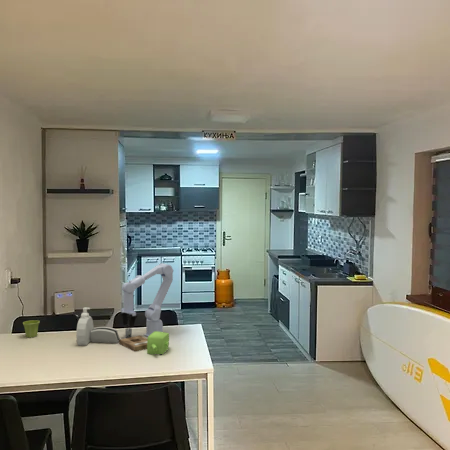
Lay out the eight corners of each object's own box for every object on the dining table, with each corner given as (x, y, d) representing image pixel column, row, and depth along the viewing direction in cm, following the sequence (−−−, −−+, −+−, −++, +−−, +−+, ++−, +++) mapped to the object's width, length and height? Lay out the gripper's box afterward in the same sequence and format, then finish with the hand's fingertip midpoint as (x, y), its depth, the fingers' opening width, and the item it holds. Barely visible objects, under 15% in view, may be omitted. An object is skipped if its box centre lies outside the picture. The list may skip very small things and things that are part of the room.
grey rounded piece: (121, 340, 254) (118, 325, 250) (118, 345, 250) (115, 330, 246) (94, 339, 256) (91, 324, 253) (90, 344, 252) (87, 329, 248)
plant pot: (22, 335, 264) (22, 321, 264) (39, 333, 268) (39, 319, 268) (22, 339, 256) (22, 324, 256) (40, 337, 260) (40, 323, 260)
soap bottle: (85, 346, 242) (85, 311, 242) (76, 346, 242) (75, 311, 241) (94, 338, 258) (94, 304, 258) (85, 338, 258) (85, 304, 258)
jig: (139, 339, 256) (139, 334, 256) (155, 346, 242) (155, 341, 242) (119, 343, 247) (119, 338, 247) (134, 351, 234) (134, 346, 234)
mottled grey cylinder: (129, 337, 259) (129, 327, 259) (132, 339, 257) (132, 329, 256) (124, 339, 257) (124, 328, 257) (127, 340, 254) (127, 330, 254)
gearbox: (161, 359, 223) (162, 341, 223) (143, 357, 225) (144, 339, 225) (173, 347, 241) (173, 331, 241) (156, 345, 243) (156, 329, 243)
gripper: (116, 301, 259) (116, 324, 259) (128, 305, 248) (128, 329, 248) (127, 300, 264) (127, 322, 264) (139, 304, 253) (139, 327, 253)
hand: (128, 325), depth 257 cm, fingers open, 7 cm apart
